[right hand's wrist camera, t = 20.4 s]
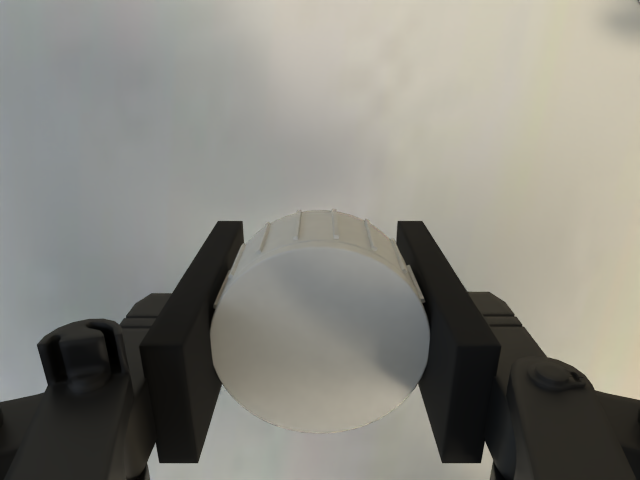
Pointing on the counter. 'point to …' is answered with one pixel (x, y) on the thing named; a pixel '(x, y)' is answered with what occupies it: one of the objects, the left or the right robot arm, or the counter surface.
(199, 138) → the counter surface
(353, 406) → the lid
